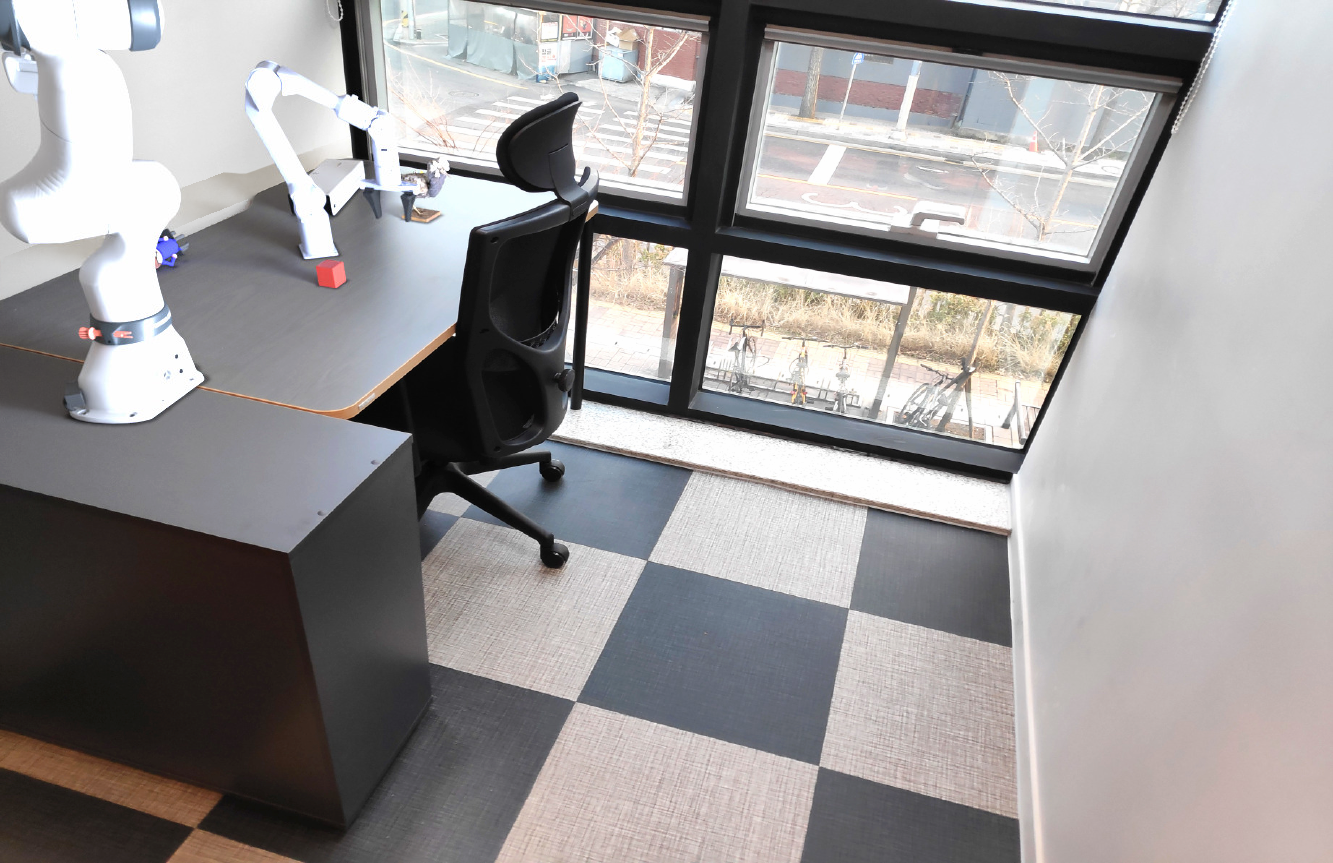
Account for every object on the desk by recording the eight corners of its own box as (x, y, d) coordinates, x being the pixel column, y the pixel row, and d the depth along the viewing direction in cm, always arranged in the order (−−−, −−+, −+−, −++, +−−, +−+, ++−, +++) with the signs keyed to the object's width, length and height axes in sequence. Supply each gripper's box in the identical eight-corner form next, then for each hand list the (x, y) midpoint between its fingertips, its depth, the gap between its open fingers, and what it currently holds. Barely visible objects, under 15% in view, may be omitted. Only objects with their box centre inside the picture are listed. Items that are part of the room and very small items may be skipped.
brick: (346, 280, 192) (342, 261, 190) (335, 288, 189) (332, 268, 186) (329, 278, 193) (326, 259, 190) (319, 285, 189) (315, 266, 187)
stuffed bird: (455, 224, 227) (450, 161, 218) (382, 221, 226) (373, 157, 216) (461, 212, 235) (456, 151, 226) (390, 209, 234) (382, 147, 225)
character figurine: (198, 256, 199) (155, 280, 187) (170, 250, 200) (126, 274, 187) (191, 225, 195) (148, 248, 182) (163, 220, 195) (117, 242, 183)
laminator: (328, 178, 253) (325, 158, 250) (369, 180, 254) (366, 160, 251) (291, 215, 225) (287, 193, 222) (337, 217, 226) (333, 195, 222)
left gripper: (118, 44, 150) (140, 123, 157) (14, 34, 151) (41, 112, 159) (93, 50, 144) (117, 130, 152) (-14, 39, 146) (15, 119, 154)
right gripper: (421, 162, 201) (427, 216, 208) (364, 157, 202) (372, 211, 209) (410, 170, 195) (417, 226, 202) (352, 165, 196) (360, 220, 203)
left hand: (77, 121), depth 155 cm, fingers open, 8 cm apart
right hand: (393, 219), depth 205 cm, fingers open, 7 cm apart
